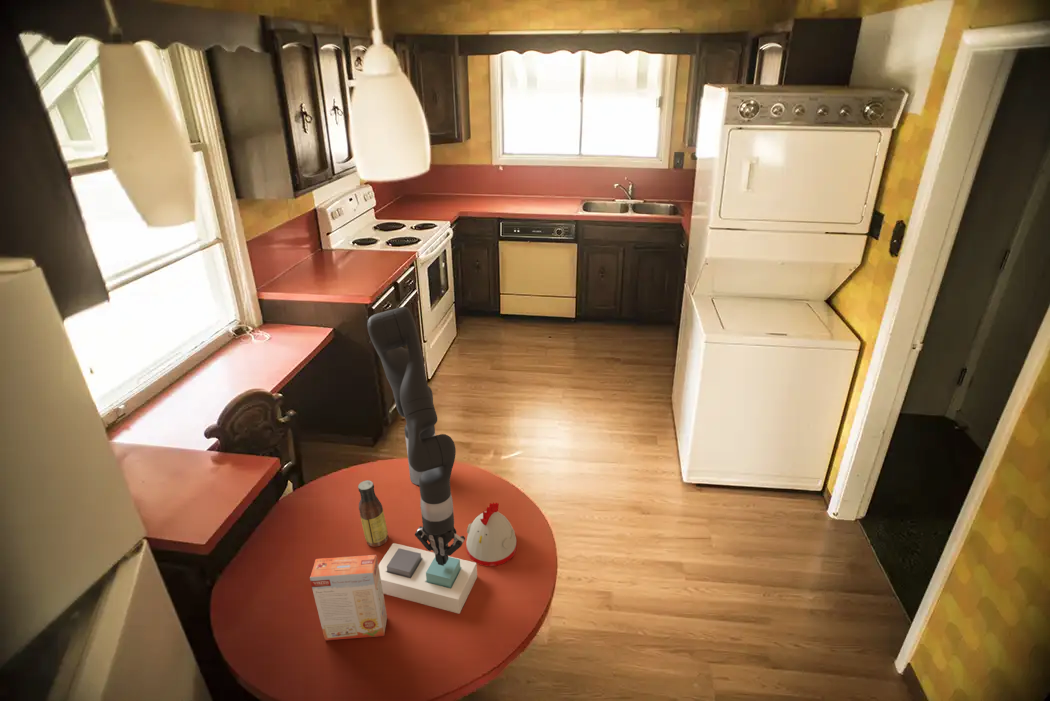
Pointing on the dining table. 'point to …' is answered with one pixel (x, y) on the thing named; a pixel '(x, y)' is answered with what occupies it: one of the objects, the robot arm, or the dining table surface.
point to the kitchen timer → (491, 538)
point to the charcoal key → (404, 563)
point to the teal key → (443, 572)
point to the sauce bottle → (372, 515)
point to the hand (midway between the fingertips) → (442, 562)
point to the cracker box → (349, 597)
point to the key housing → (424, 591)
